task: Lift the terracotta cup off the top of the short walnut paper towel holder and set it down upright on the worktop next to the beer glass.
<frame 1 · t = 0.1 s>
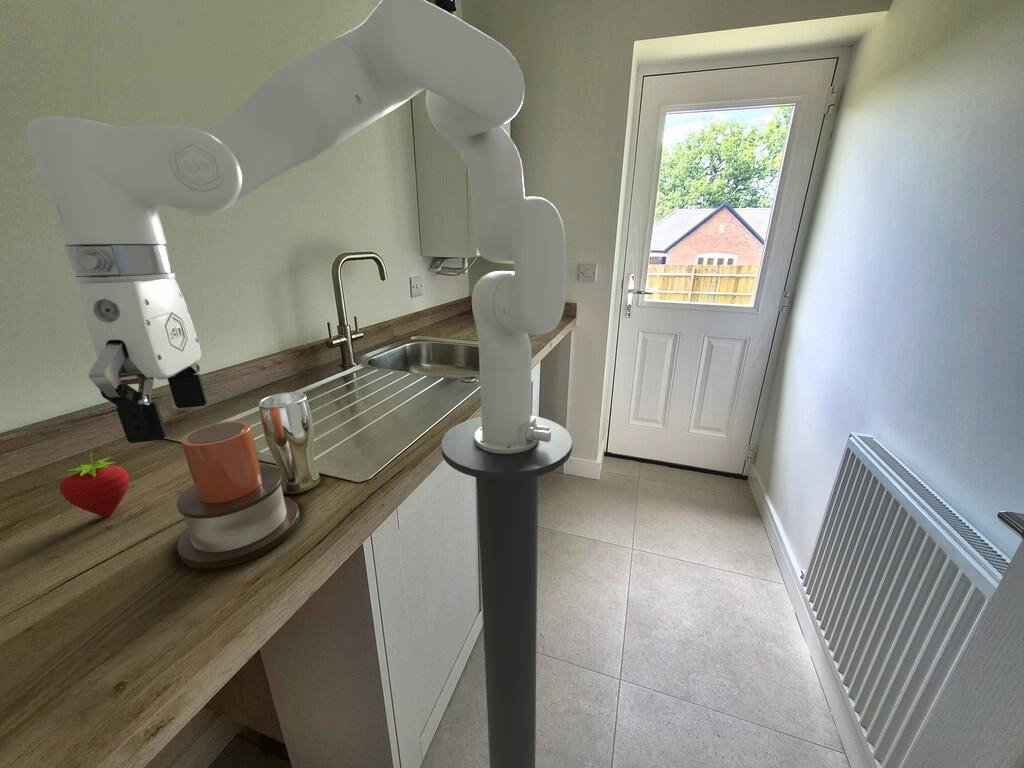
hand: (172, 421, 46), 18 cm above the table, tool pointing down, fingers open, 9 cm apart
terracotta cup: (231, 487, 54), point 7 cm above the table, touching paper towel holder
strawberry: (108, 516, 60), on the table
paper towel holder: (243, 531, 56), on the table
beer glass: (300, 484, 67), on the table
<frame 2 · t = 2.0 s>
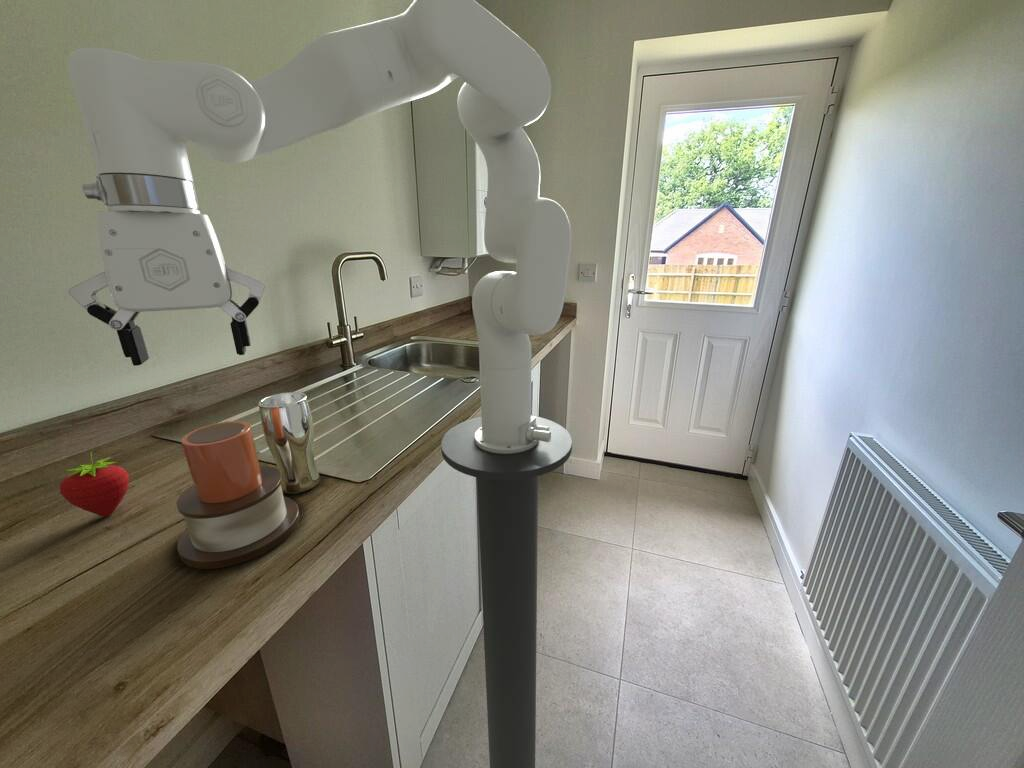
hand: (194, 357, 48), 25 cm above the table, tool pointing down, fingers open, 9 cm apart
nothing on the table moved.
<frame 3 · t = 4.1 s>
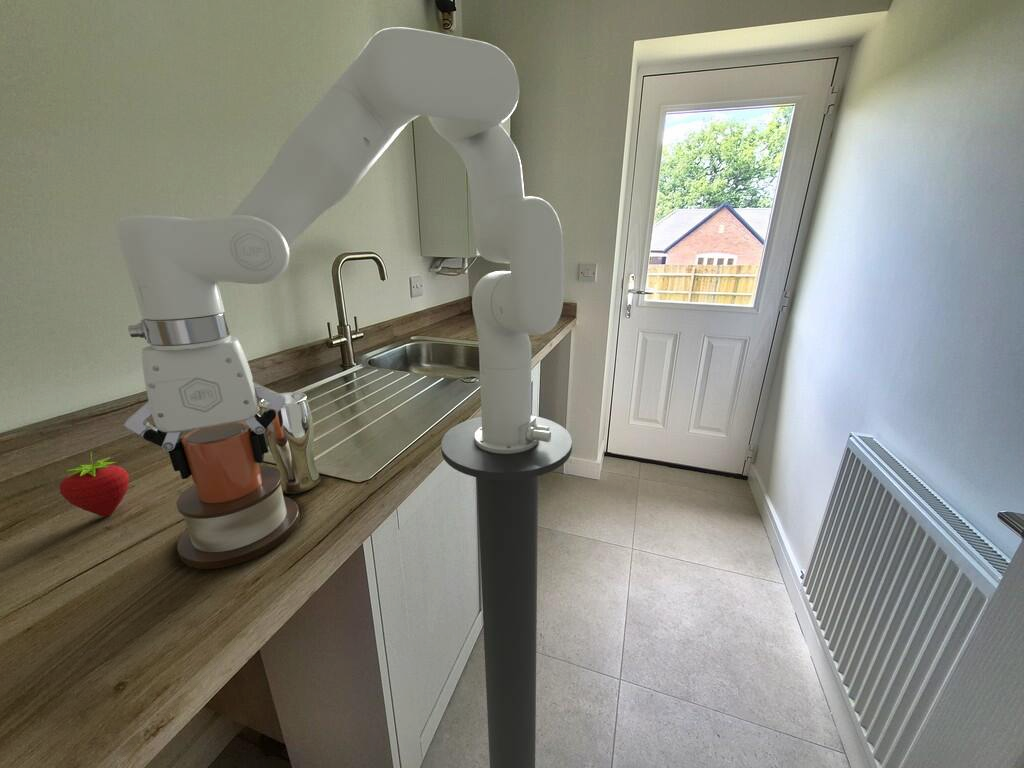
hand: (225, 464, 53), 10 cm above the table, tool pointing down, fingers closed on terracotta cup, 7 cm apart
terracotta cup: (231, 487, 54), point 7 cm above the table, touching gripper, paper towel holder
everything else where it was.
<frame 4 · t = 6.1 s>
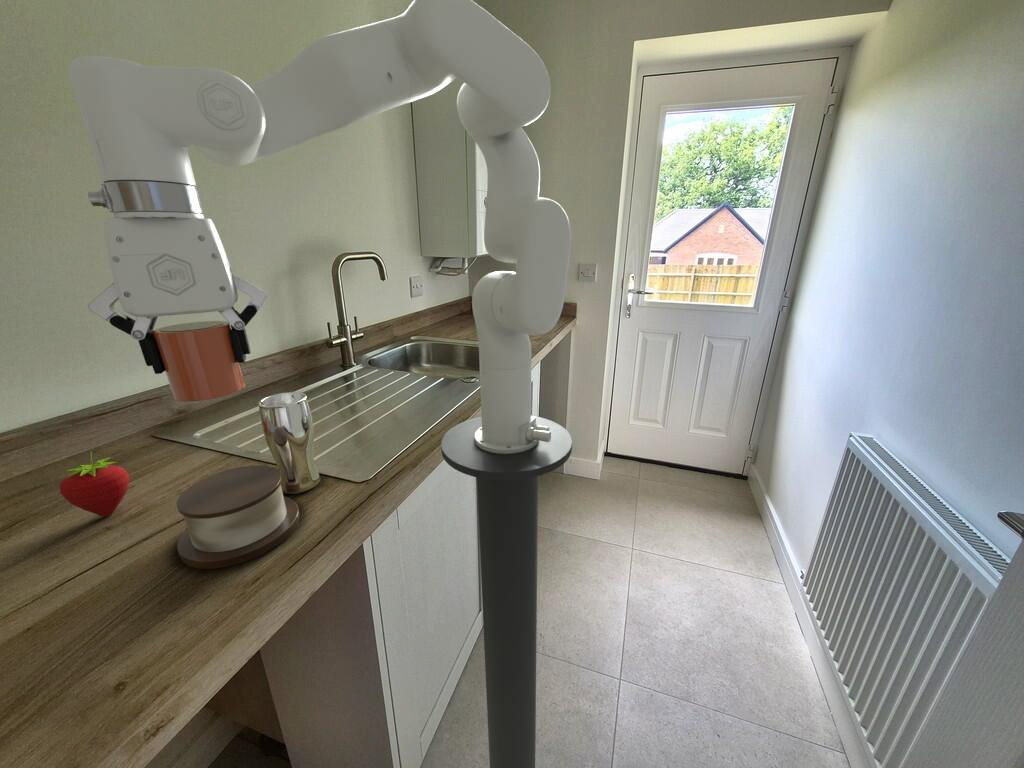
hand: (203, 364, 49), 24 cm above the table, tool pointing down, fingers closed on terracotta cup, 7 cm apart
terracotta cup: (211, 390, 50), point 20 cm above the table, touching gripper
everything else where it was.
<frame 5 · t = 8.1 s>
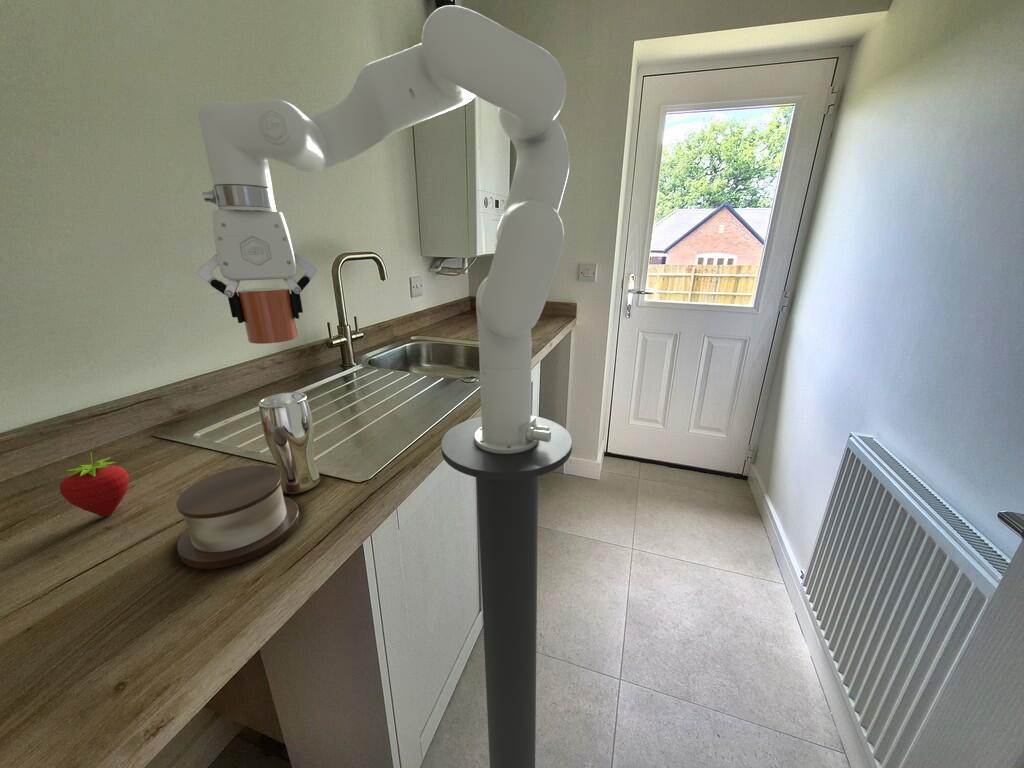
hand: (269, 318, 67), 26 cm above the table, tool pointing down, fingers closed on terracotta cup, 7 cm apart
terracotta cup: (273, 338, 68), point 23 cm above the table, touching gripper
everything else where it was.
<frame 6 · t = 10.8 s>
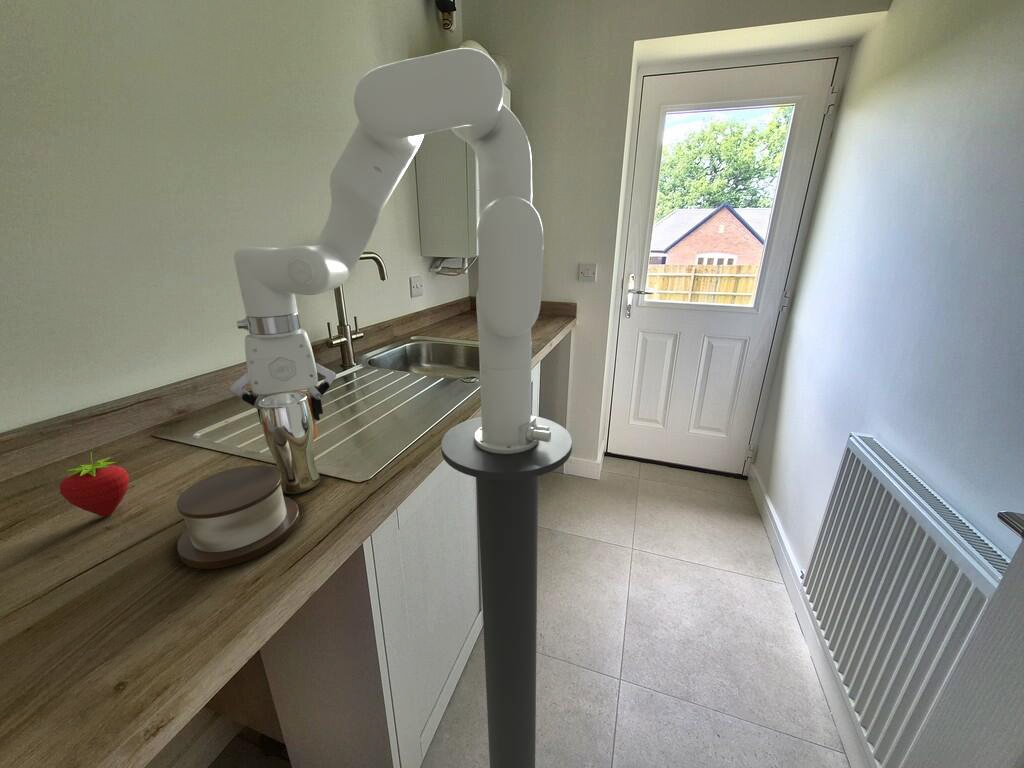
hand: (293, 421, 74), 7 cm above the table, tool pointing down, fingers closed on terracotta cup, 7 cm apart
terracotta cup: (296, 438, 75), point 4 cm above the table, touching gripper
everything else where it was.
when the fingers open (3 cm above the table, at t = 12.5 s): terracotta cup stays where it is, on the table.
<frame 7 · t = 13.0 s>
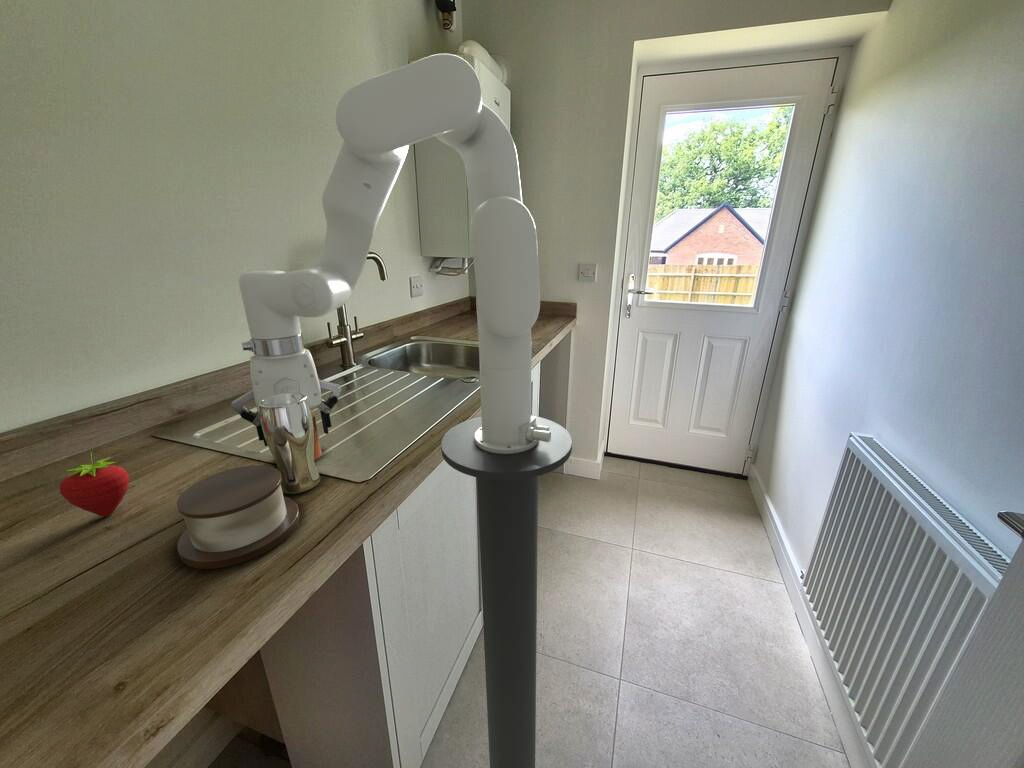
hand: (297, 436, 75), 4 cm above the table, tool pointing down, fingers open, 9 cm apart
terracotta cup: (300, 457, 76), on the table
everything else where it was.
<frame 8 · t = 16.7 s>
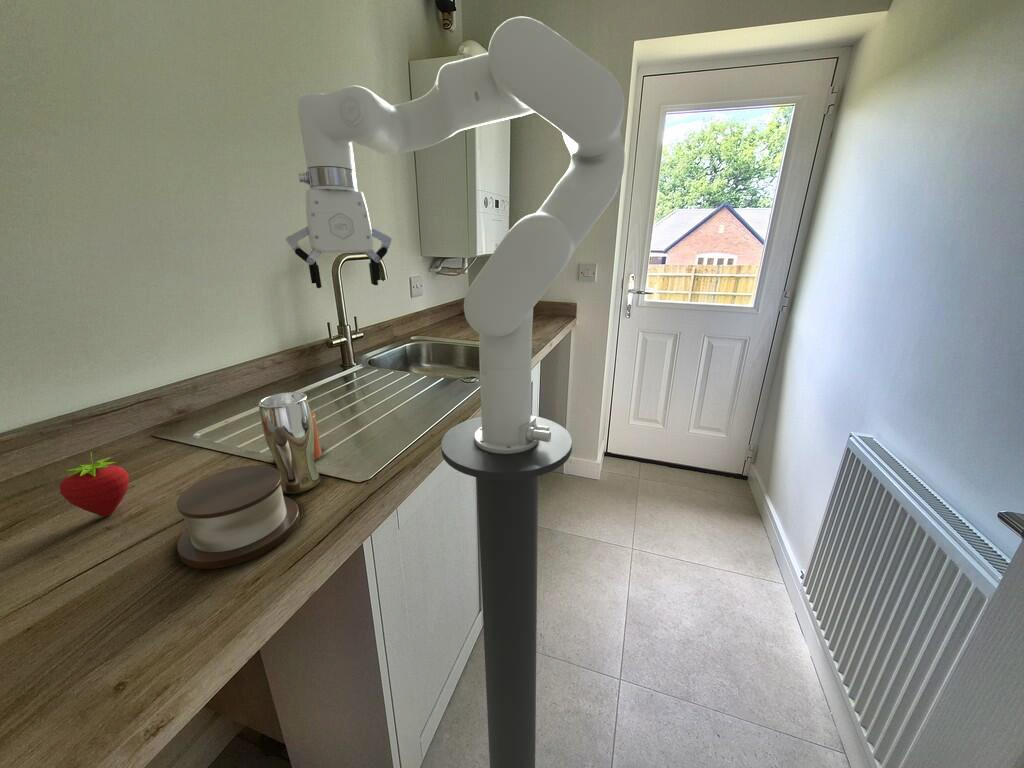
hand: (347, 286, 75), 30 cm above the table, tool pointing down, fingers open, 9 cm apart
nothing on the table moved.
at the end: terracotta cup 10.2 cm from the beer glass (horizontally); terracotta cup on the table; terracotta cup tilted 0° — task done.
